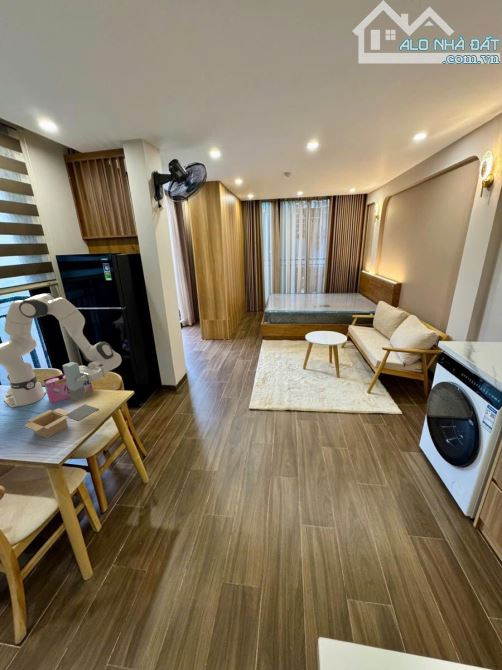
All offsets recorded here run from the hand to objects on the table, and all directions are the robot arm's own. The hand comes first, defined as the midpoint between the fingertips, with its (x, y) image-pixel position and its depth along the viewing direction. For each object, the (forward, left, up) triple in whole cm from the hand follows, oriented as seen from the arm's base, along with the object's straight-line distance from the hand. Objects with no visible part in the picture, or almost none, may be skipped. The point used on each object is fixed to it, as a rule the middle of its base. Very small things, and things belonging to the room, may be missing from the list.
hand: (72, 379), depth 137 cm
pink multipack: (-26, +12, -22) cm, 36 cm away
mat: (0, +1, -22) cm, 22 cm away
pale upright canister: (0, +1, -12) cm, 12 cm away
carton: (0, -15, -22) cm, 27 cm away
